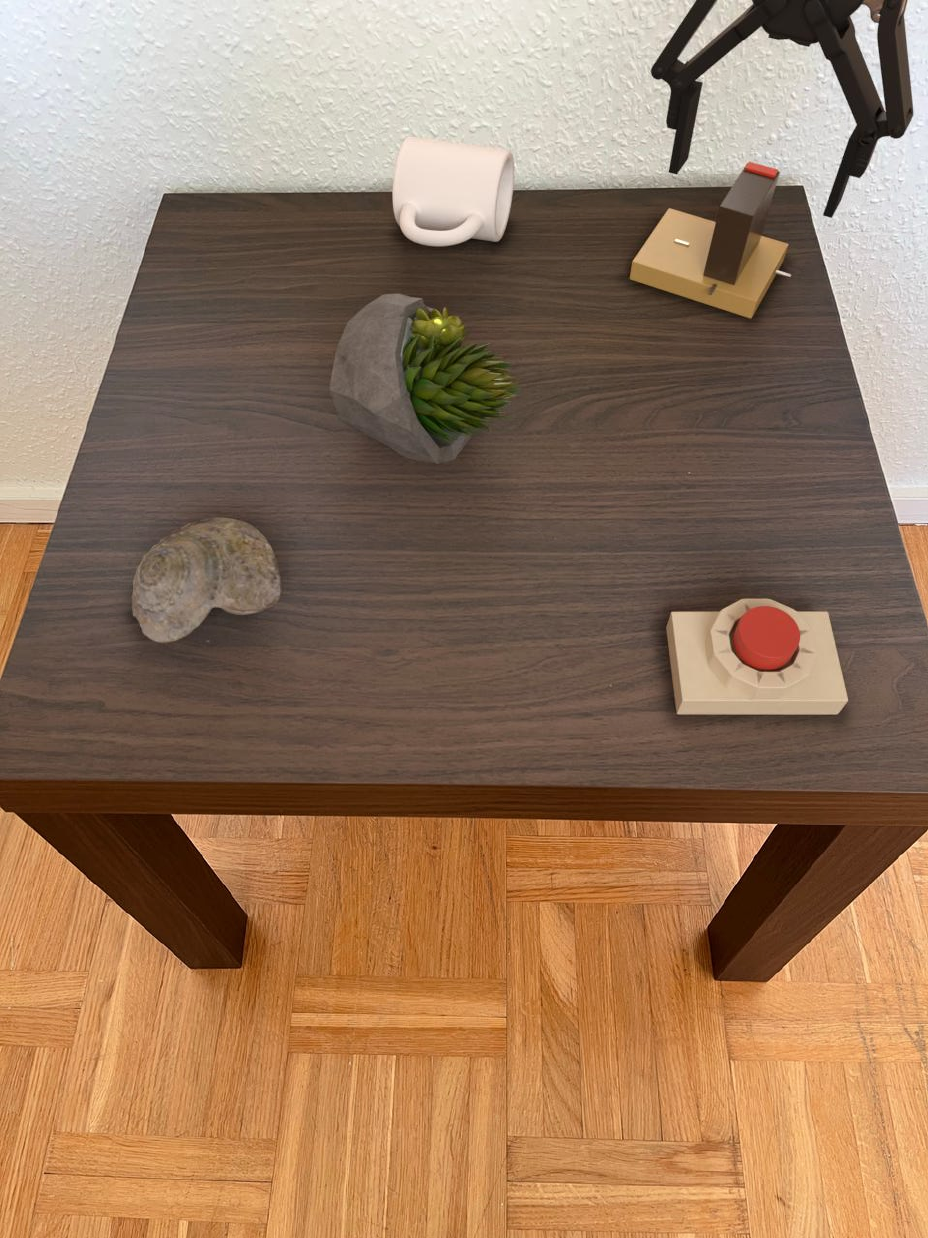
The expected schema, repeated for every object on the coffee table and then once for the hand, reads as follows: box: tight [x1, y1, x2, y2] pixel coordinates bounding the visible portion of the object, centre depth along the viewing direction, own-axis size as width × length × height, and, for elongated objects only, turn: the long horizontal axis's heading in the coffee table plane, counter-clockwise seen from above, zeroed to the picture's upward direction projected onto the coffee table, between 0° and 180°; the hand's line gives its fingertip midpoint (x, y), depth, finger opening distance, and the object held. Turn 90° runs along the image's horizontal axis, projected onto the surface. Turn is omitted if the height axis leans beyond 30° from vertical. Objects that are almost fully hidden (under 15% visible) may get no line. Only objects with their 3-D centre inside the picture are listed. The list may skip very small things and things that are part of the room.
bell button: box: [733, 606, 800, 670], centre depth 60 cm, size 4×4×2 cm
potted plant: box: [328, 293, 522, 464], centre depth 72 cm, size 12×13×15 cm
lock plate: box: [629, 207, 792, 320], centre depth 85 cm, size 14×11×2 cm
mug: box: [391, 136, 515, 247], centre depth 86 cm, size 12×10×8 cm
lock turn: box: [703, 161, 781, 285], centre depth 81 cm, size 7×3×7 cm, turn 152°
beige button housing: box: [665, 598, 849, 716], centre depth 63 cm, size 11×7×4 cm, turn 89°
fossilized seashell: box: [131, 516, 283, 644], centre depth 66 cm, size 11×11×7 cm
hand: (753, 186), depth 78 cm, fingers open, 13 cm apart
